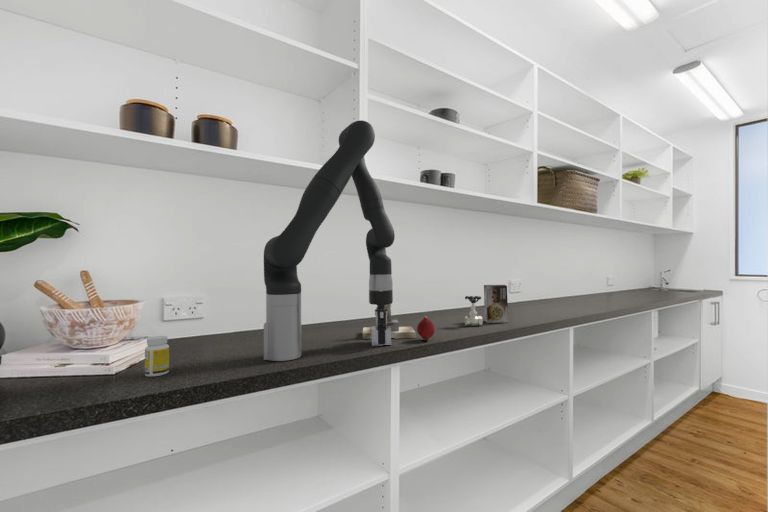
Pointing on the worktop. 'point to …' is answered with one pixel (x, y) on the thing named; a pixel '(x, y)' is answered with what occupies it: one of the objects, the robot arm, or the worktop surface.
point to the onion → (426, 328)
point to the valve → (473, 313)
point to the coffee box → (495, 303)
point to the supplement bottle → (156, 356)
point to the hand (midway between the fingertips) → (381, 341)
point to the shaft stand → (392, 328)
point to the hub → (375, 336)
